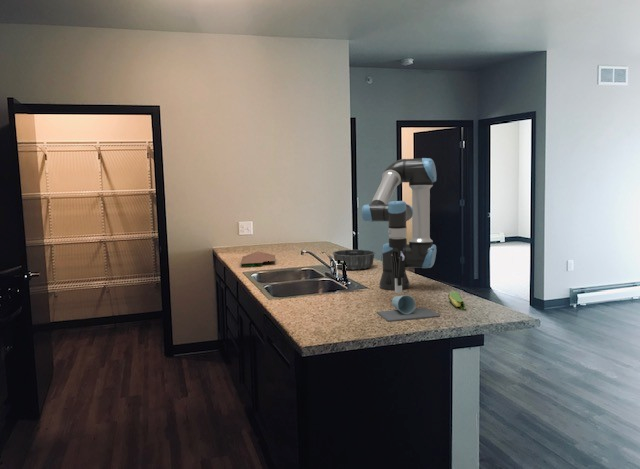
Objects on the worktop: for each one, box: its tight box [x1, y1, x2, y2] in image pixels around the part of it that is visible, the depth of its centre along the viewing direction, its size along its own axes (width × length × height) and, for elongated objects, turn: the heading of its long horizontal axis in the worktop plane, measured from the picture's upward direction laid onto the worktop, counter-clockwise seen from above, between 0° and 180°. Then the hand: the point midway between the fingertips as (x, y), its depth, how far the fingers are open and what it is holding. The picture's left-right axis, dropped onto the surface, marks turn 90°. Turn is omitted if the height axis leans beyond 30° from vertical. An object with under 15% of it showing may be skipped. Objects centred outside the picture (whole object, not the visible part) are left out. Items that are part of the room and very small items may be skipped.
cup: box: [391, 294, 416, 314], centre depth 224 cm, size 8×8×10 cm
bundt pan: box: [332, 249, 376, 271], centre depth 334 cm, size 26×26×10 cm
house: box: [239, 251, 277, 267], centre depth 365 cm, size 23×33×8 cm
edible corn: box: [447, 291, 466, 311], centre depth 233 cm, size 5×20×5 cm
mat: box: [376, 307, 441, 323], centre depth 220 cm, size 14×22×1 cm, turn 103°
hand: (398, 292), depth 230 cm, fingers closed
